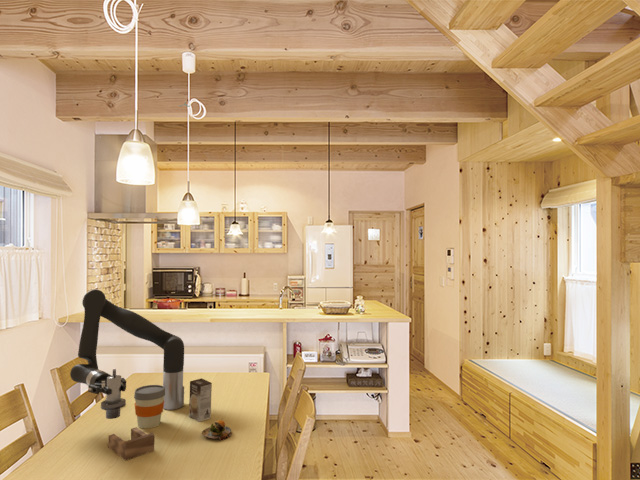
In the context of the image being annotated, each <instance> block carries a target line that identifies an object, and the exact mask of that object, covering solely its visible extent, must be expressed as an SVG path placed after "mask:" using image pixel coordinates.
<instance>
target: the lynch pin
mask: <svg viewBox="0 0 640 480" xmlns="http://www.w3.org/2000/svg"><path fill="white" fill-rule="evenodd" d="M121 378H122V375H120V374H117V369H116V368H113V369H112V375H111V376H109V377H107V388H109V389H110V395H107V394H105V400H102V401H101V402H100V409H101V410H104V411H105V418H106V420H113V419H118V418H119V417H121V409H122V408H124V407H125V406H126V398H122V391H121Z"/></svg>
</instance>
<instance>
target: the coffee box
mask: <svg viewBox="0 0 640 480" xmlns="http://www.w3.org/2000/svg"><path fill="white" fill-rule="evenodd" d="M212 384H213V383H212V382H211V381H208V380H207V379H204V378H201V377H200V378H197V379H194V380H190V381H189V400H188V401H189V403H188V404H189V406H188V408H189V409H188V416H189V417H190V418H191V419H193V420H195V421H197V422H203V421H206V420H209V419H211V418H212V416H211V415H212V390H213V389H212V386H213V385H212Z"/></svg>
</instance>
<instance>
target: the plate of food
mask: <svg viewBox="0 0 640 480" xmlns="http://www.w3.org/2000/svg"><path fill="white" fill-rule="evenodd" d="M201 434H202V435H203V436H204V437H205V438H208V439H216V440H217V439H219V441H224V440H226V437H227V438H230V437H231V436H232V429H231V428H230V427H229V426H226V424H225V421H223V419H219V420H218V419H217V420H215V421H214V424H213V423H211V425H210V426H209V427H206V428H205V429H203V430H202V431H201Z"/></svg>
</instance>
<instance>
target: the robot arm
mask: <svg viewBox="0 0 640 480" xmlns="http://www.w3.org/2000/svg"><path fill="white" fill-rule="evenodd" d="M81 302H82V303H81V304H82V306H83V308H84V314H83V315H84V316H83V324H82V329H81V334H80V339H79V344H78V351H77V352H78V353H77V357H78V358H79V359H82V360H86V361H87V363H79V364H75V365H74V366H72V368H70V372H69V375H70V378H71V380H72V381H73V382H75V383H79V384H85V385H86V386H87V392H88V393H92V394H96V395H100V393H101V394H104V395H106V394H107V395H110V389H109V388H107V377H109V376H112V375H111V374H110V373H108V372H106V371H104V370H101V369H99V366H98V359H97V350H98V349H97V348H98V341H99V340H98V339H99V331H100V330H99V329H100V321H101V317H102V318H104V319H106V320H108V321H109V322H111V323H113V324H114V325H115V326H117V327H119V328H120V329H121V330H123V331H125V332H127V333H128V334H130V335H132V336H134V337H136V338H139V339H141V340H145V341H147V342H151V343H153V344H155V345H156V346H158V347H159V348H161V349H162V350H163V365H162V367H163V371H162V373H163V374H162V386H164V387H165V395H164V407H163V410H169V411H172V410H177V409H180V408H183V407H184V406H185V386H184V365H185V344H184V341H183V339H182V338H181V337H180V336H178V335H175V334H173V333H171V332H168V331H166V330H163V329H162V328H160V327H159V326H158V325H156V324H155V323H154V322H151V321H150V320H149V319H147V318H146V317H144V316H142V315H140V314H138V313H136V312H134V311H132V310H130V309H126V308H123V307H120V306H118V305H116V304H114V303H112V302H111V301H110V300H108V299H107V297H106V295H105V293H104V292H103V291H102V290H100V289H90V290H89V291H87V292H86V293H85V294H84V296H83V298H82V301H81ZM126 390H127V380H126V379H125V378H124V377H121V392H125V391H126Z"/></svg>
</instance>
